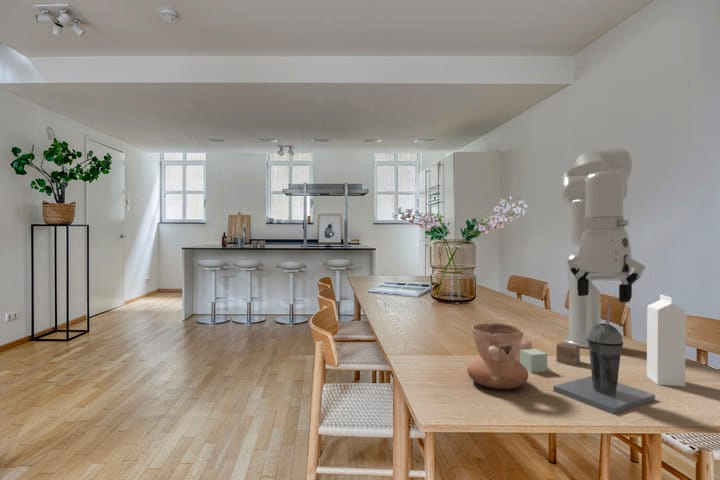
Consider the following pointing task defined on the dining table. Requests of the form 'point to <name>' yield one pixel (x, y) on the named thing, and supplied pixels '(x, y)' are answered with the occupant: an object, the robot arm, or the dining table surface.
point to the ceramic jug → (497, 356)
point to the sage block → (533, 360)
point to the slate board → (604, 395)
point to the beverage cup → (605, 356)
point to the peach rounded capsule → (523, 348)
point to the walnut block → (568, 353)
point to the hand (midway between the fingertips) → (603, 298)
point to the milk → (666, 342)
